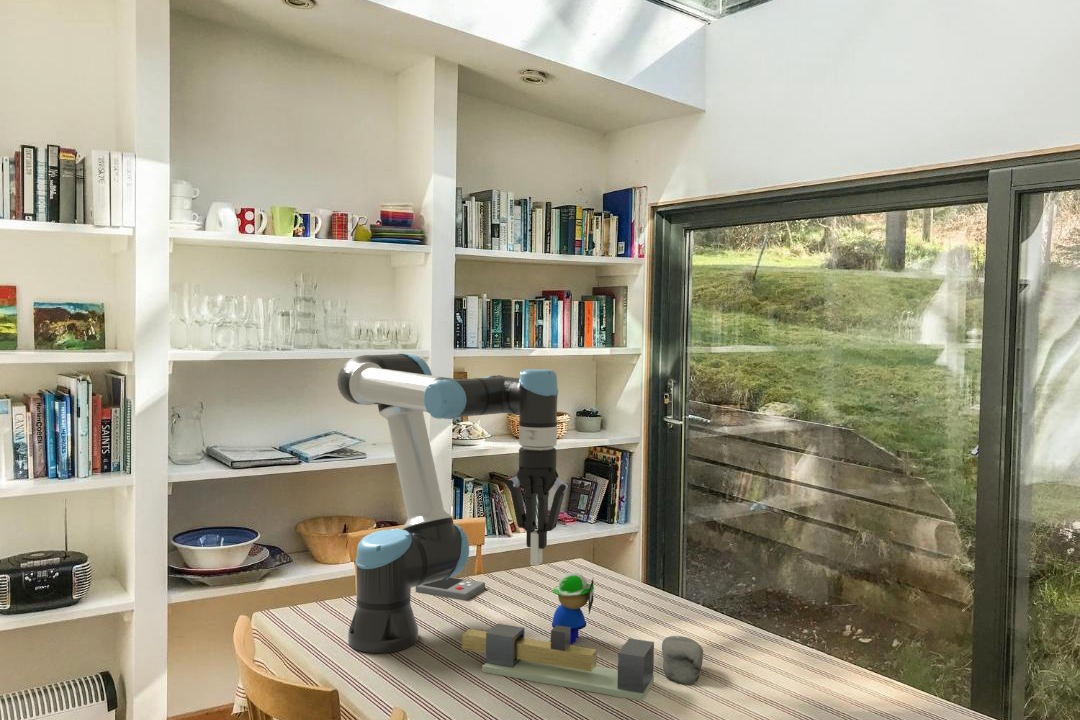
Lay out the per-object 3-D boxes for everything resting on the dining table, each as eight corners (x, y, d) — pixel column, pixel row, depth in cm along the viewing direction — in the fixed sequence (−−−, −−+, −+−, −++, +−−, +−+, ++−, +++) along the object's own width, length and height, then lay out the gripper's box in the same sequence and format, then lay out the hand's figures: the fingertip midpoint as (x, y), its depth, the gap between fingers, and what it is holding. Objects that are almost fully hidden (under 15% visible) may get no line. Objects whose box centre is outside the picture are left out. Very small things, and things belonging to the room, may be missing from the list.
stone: (653, 680, 168) (659, 628, 172) (660, 684, 176) (666, 634, 180) (698, 688, 165) (704, 635, 169) (704, 692, 173) (709, 641, 177)
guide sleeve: (485, 663, 173) (486, 633, 172) (497, 652, 178) (497, 623, 178) (512, 667, 171) (513, 637, 170) (524, 657, 176) (524, 627, 176)
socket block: (617, 689, 162) (618, 652, 161) (628, 672, 169) (629, 638, 169) (643, 693, 160) (643, 657, 159) (653, 676, 167) (654, 641, 167)
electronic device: (466, 593, 214) (415, 584, 220) (465, 602, 214) (415, 594, 220) (485, 581, 223) (436, 573, 230) (485, 590, 224) (436, 582, 230)
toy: (590, 648, 184) (591, 580, 183) (548, 644, 186) (549, 577, 185) (595, 633, 193) (596, 568, 192) (555, 630, 195) (556, 565, 194)
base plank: (482, 671, 171) (482, 666, 171) (500, 655, 180) (500, 649, 180) (642, 700, 159) (642, 694, 159) (653, 681, 168) (653, 675, 168)
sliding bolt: (462, 649, 176) (462, 616, 176) (468, 643, 179) (469, 611, 179) (591, 671, 166) (591, 636, 166) (596, 665, 169) (596, 631, 169)
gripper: (500, 447, 169) (499, 564, 170) (562, 451, 164) (560, 572, 165) (514, 442, 176) (513, 555, 177) (574, 446, 171) (573, 562, 172)
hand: (536, 563), depth 171 cm, fingers closed
